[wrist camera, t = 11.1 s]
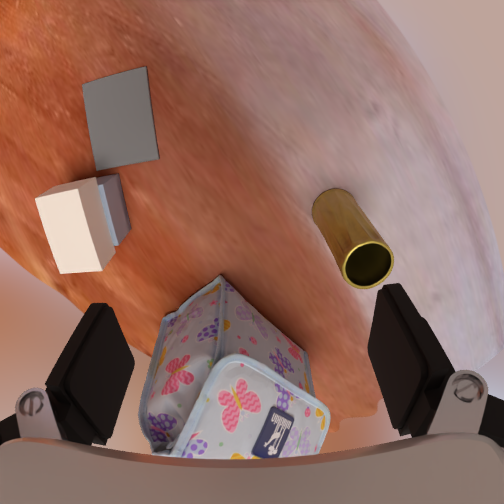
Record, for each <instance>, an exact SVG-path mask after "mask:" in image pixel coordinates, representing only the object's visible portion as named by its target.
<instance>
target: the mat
mask: <svg viewBox="0 0 504 504" xmlns="http://www.w3.org/2000/svg"><path fill="white" fill-rule="evenodd" d="M82 88H83V95H84V103H85V110H86V116H87V122H88V128H89V134H90V140H91V145H92V150H93V155H94V160H95V165H96V170H97V171H98V170H103V169H108V168H113V167H118V166H123V165H128V164H134V163H140V162H145V161H151V160H157V159H160V158H159V152H158V145H157V139H156V133H155V126H154V119H153V112H152V105H151V98H150V90H149V82H148V73H147V67H146V66H145V67H141V68H137V69H133V70H129V71H125V72H121V73H118V74H114V75H111V76H107V77H104V78H101V79H98V80H94V81H91V82H88V83H85V84H82Z"/></svg>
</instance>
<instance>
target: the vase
mask: <svg viewBox="0 0 504 504" xmlns="http://www.w3.org/2000/svg"><path fill="white" fill-rule="evenodd" d="M312 216H313V220H314V222H315V224H316V225H317V226H318V228H319V230H320V231H321V233H322V235H323V237H324V238H325V240H326V242H327V244H328V246H329V248H330V250H331V252H332V254H333V256H334V258H335V260H336V263H337V265H338V267H339V269H340V271H341V274H342V276H343V278H344V280H345V281H346V282H347V283H348V284H350V285H351V286H353V287H355V288H358V289H369V288H373V287H375V286H377V285H379V284H380V283H382V282H383V281H384V280H385V279H386V278H387V277H388V276H389V274H390V273H391V271H392V268H393V265H394V256H393V253H392V251H391V249H390V248H389V246H388V245H387V244H386V243H385V241H384V240H383V238H382V237H381V236H380V234H379V233H378V232H377V230H376V229H375V227H374V226H373V225H372V223H371V222H370V221H369V219H368V218H367V216H366V215H365V213H364V212H363V211H362V209H361V208H360V207H359V206H358V204H357V203H356V201H355V199H354V197H353V196H352V195H351V194H350V193H348V192H347V191H345V190H342V189H331V190H328V191H326V192H324V193H322V194H321V195H320V196H319V197H318V198H317V199H316V201H315V202H314V205H313V209H312Z"/></svg>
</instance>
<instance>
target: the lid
mask: <svg viewBox="0 0 504 504" xmlns="http://www.w3.org/2000/svg"><path fill="white" fill-rule="evenodd" d="M35 201H36V204H37V207H38V211H39V214H40V217H41V221H42V224H43V227H44V230H45V233H46V236H47V239H48V242H49V245H50V247H51V250H52V253H53V256H54V258H55V261H56V264H57V266H58V269H59V271H60V274H64V273H78V272H92V271H102V270H103V269H104V268H105V266H106V265H107V264H108V262H109V261H110V259H111V258H112V257H113V255H114V254H115V253H116V251H115V248H114V245H113V241H112V238H111V235H110V231H109V227H108V224H107V220H106V217H105V213H104V209H103V205H102V201H101V197H100V193H99V189H98V185H97V180H96V177H93V178H88V179H84V180H79V181H75V182H70V183H66V184H62V185H58V186H54V187H52V188H51V189H49V190H48V191H46V192H44V193H43V194H41V195H40V196H38V197H36V198H35Z"/></svg>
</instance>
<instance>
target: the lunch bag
mask: <svg viewBox="0 0 504 504" xmlns="http://www.w3.org/2000/svg"><path fill="white" fill-rule="evenodd" d="M138 417H139V424H140V427H141V430H142V433H143V435H144V436H145V438H146V439H147V440H148V442H149V443H150V447H151V451H152V455H157V456H168V457H180V458H197V459H265V458H283V457H295V456H306V455H315V454H319V451H320V448H321V446H322V444H323V442H324V439H325V436H326V434H327V431H328V428H329V424H330V411H329V409H328V408H327V406H326V405H325V404H324V403H322V402H321V401H319V400H318V399H316V397H315V392H314V387H313V381H312V376H311V369H310V364H309V358H308V354H307V352H306V351H303V350H302V349H301V348H300V347H299V346H297V345H296V344H295V343H294V342H292V341H291V340H290V339H289V338H288V337H286V336H285V335H284V334H283V333H282V332H281V331H280V330H278V329H277V328H276V327H275V326H274V325H273V324H272V323H270V322H269V321H268V320H267V319H266V318H265V317H263V316H262V315H261V314H260V313H259V312H258V311H257V310H256V309H255V308H254V307H253V306H252V305H250V304H249V303H248V302H247V301H246V300H245V299H244V298H243V297H242V296H241V295H240V294H239V293H238V292H237V291H236V290H235V289H234V288H233V287H232V286H231V285H230V284H229V283H228V282H226V281H225V279H224V278H223V277H222V276H221V275H219V276H218V277H217V278H216V279H215V280H214V281H213V282H211V283H210V284H208V285H207V286H205V287H204V288H202V289H201V290H200V291H198V292H197V293H195V294H194V295H193V296H191V297H190V298H189V299H188V300H187V301H186V302H185V303H183V304H182V305H181V306H180V307H179V309H178V310H177V311H176V312H173V313H170V314H168V315H167V316H165V317H164V318H163V319H162V322H161V326H160V330H159V334H158V338H157V341H156V344H155V347H154V351H153V355H152V359H151V363H150V366H149V369H148V373H147V377H146V381H145V384H144V388H143V391H142V395H141V400H140V405H139V412H138Z"/></svg>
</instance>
